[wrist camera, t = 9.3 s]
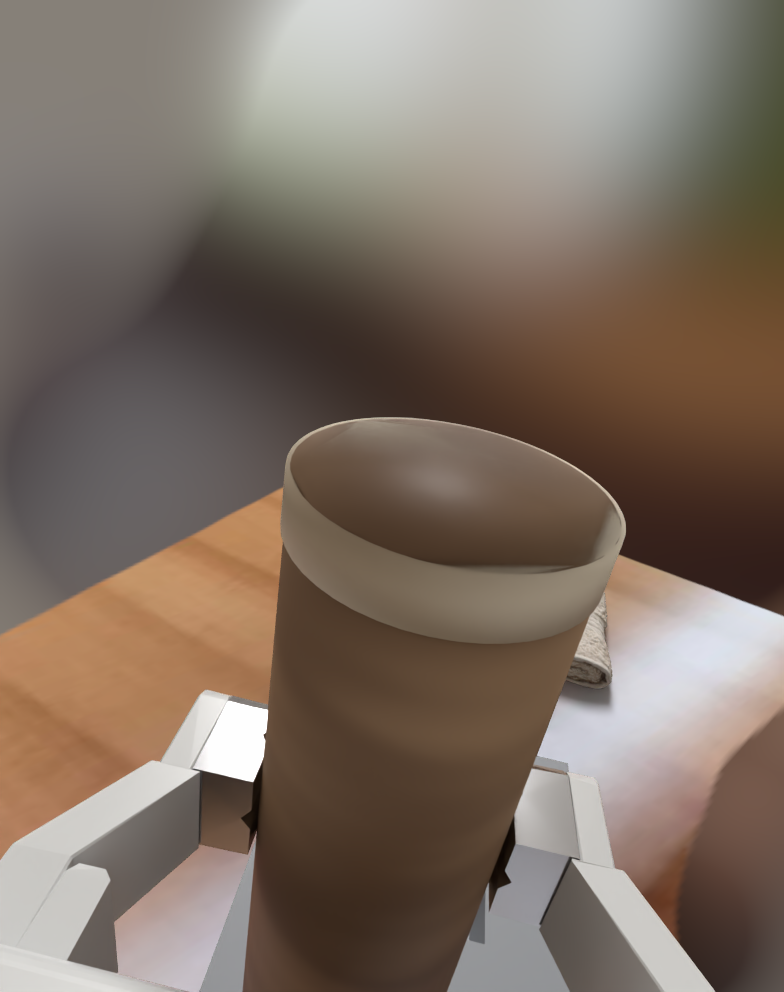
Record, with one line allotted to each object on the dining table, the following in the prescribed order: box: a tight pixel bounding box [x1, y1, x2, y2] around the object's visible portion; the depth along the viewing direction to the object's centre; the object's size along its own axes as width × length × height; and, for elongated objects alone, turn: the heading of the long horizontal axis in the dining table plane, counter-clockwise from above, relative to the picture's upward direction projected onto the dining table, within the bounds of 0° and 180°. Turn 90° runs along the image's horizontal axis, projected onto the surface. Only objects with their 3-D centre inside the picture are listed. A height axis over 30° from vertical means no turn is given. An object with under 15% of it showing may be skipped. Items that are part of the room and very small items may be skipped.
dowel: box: [242, 417, 626, 992], centre depth 11 cm, size 4×4×14 cm
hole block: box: [200, 756, 570, 992], centre depth 27 cm, size 14×14×4 cm
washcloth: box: [566, 593, 612, 689], centre depth 49 cm, size 12×18×3 cm, turn 74°
